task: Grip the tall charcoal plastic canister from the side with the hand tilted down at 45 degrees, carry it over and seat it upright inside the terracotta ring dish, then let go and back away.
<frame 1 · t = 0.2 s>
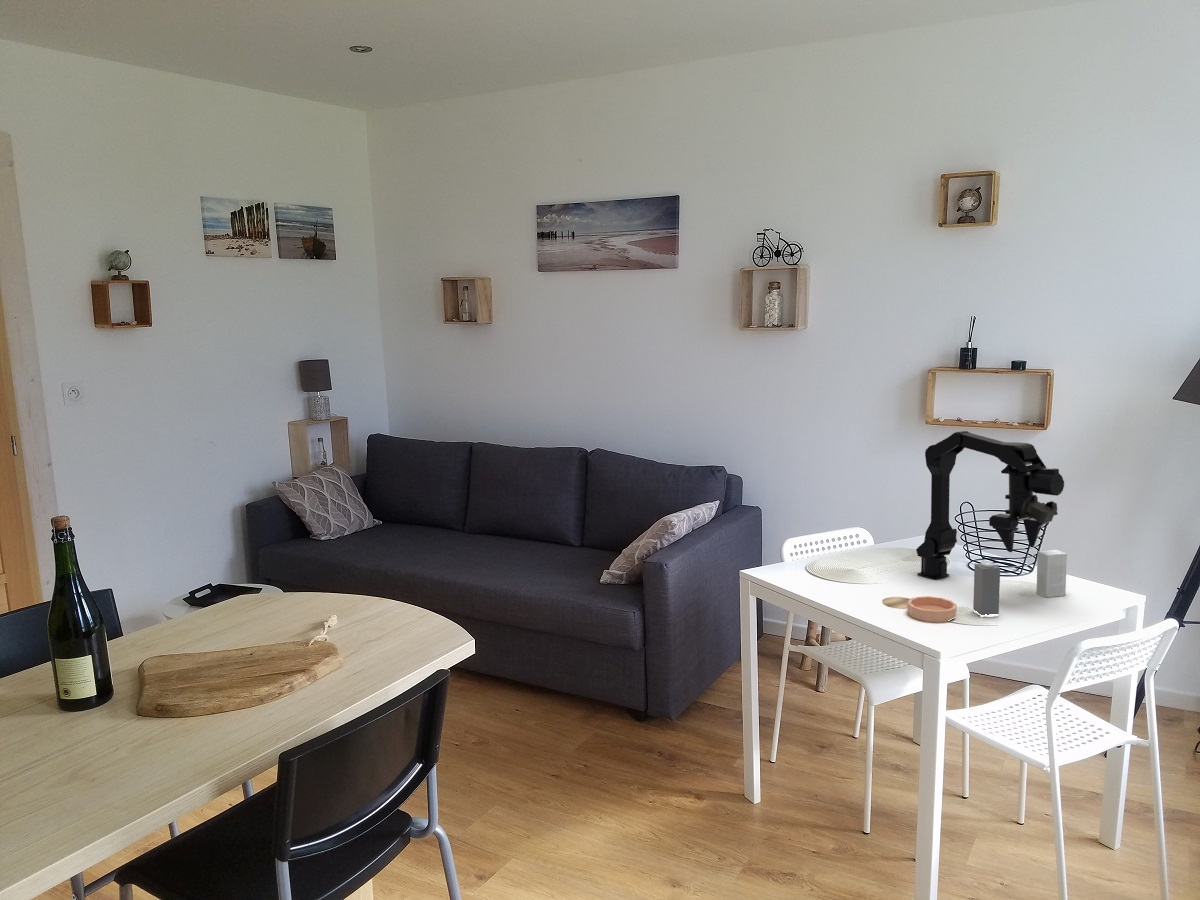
hand: (1021, 549, 228), 14 cm above the table, tool pointing down, fingers open, 9 cm apart
ring dish: (931, 614, 222), on the table
cork coaster: (899, 604, 232), on the table
skincare box: (1050, 595, 234), on the table
canister: (985, 614, 221), on the table
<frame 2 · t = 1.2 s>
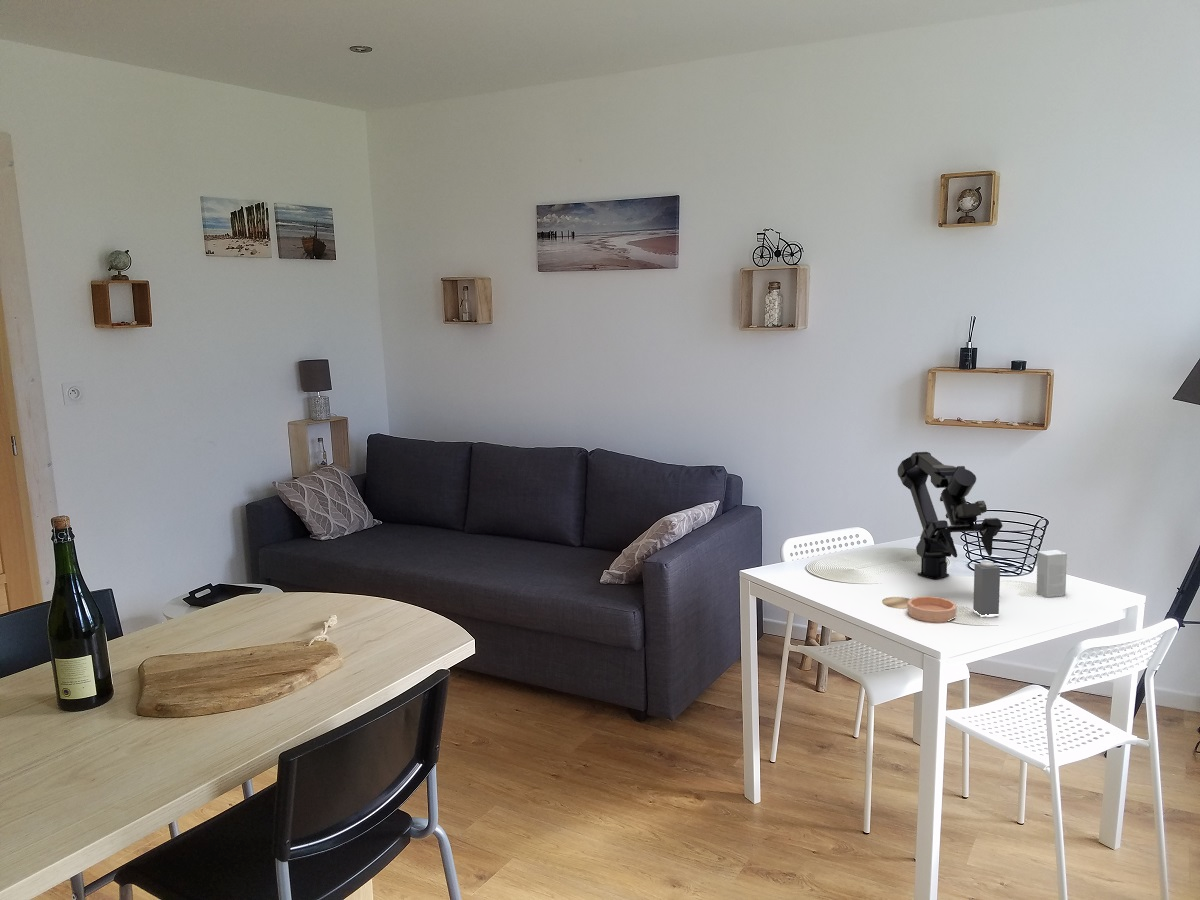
hand: (973, 556, 227), 13 cm above the table, tool tilted 45°, fingers open, 9 cm apart
nothing on the table moved.
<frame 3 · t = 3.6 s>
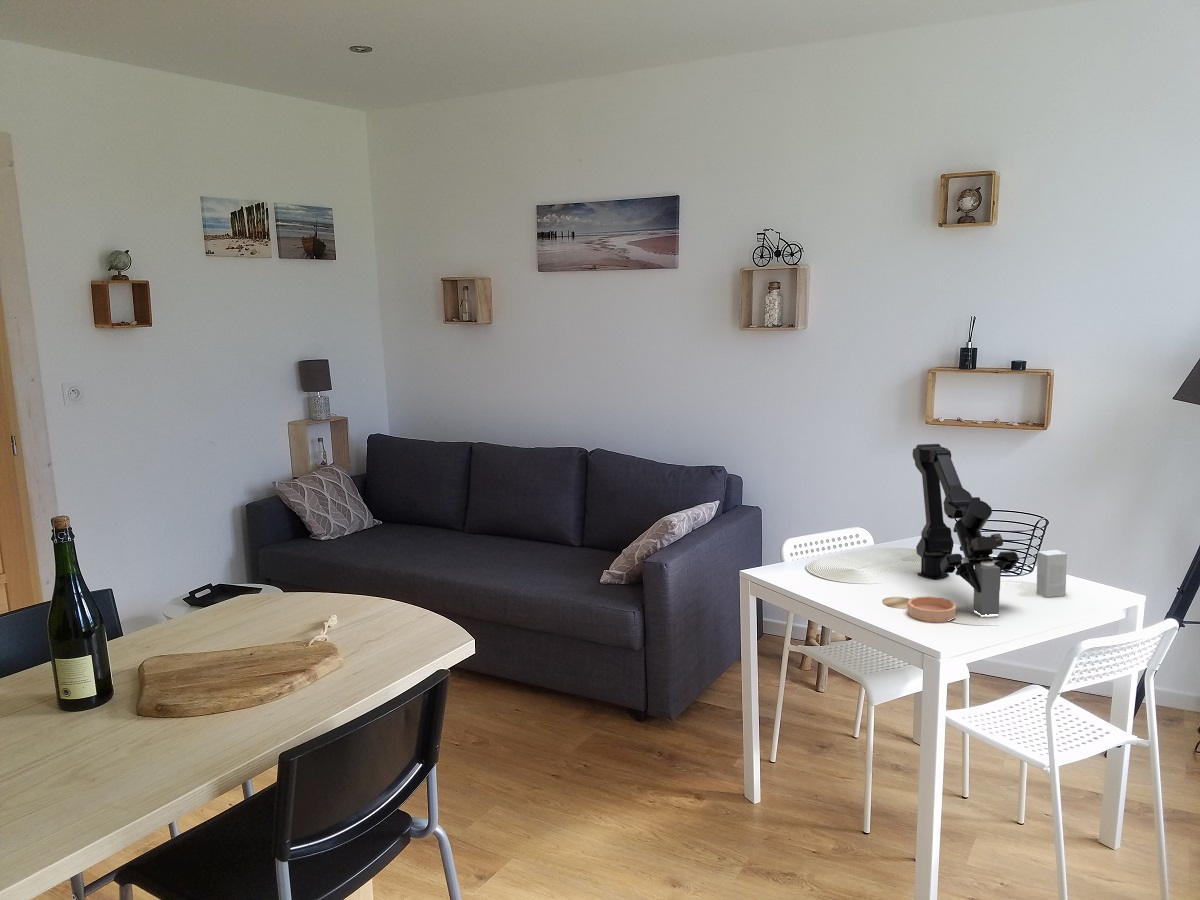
hand: (989, 591, 219), 7 cm above the table, tool tilted 45°, fingers closed on canister, 4 cm apart
canister: (985, 614, 221), on the table, touching gripper
everything else where it was.
when the fingers open (8 cm above the table, at t = 7.5 s): canister stays where it is, resting on ring dish.
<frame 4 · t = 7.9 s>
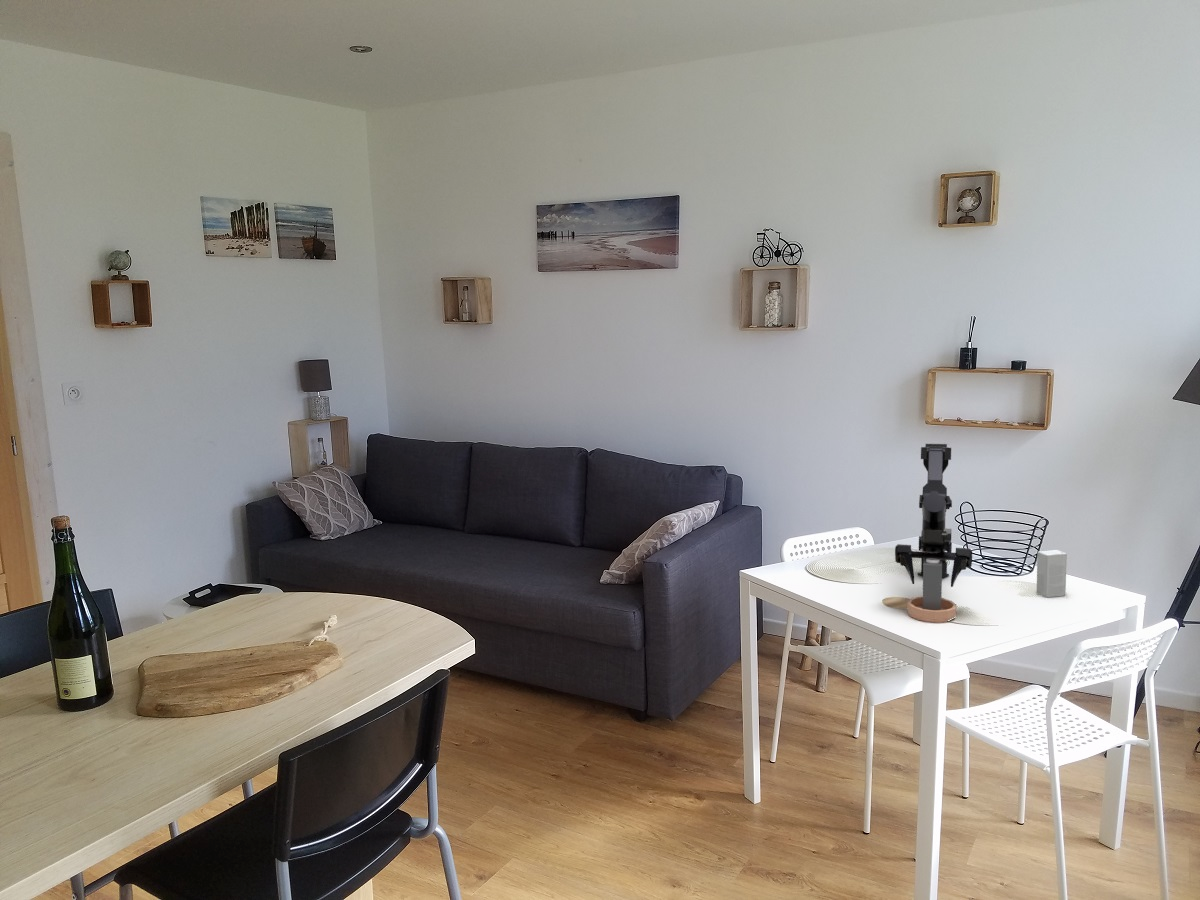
hand: (932, 584, 220), 9 cm above the table, tool tilted 45°, fingers open, 9 cm apart
canister: (931, 611, 222), point 1 cm above the table, touching ring dish
everything else where it was.
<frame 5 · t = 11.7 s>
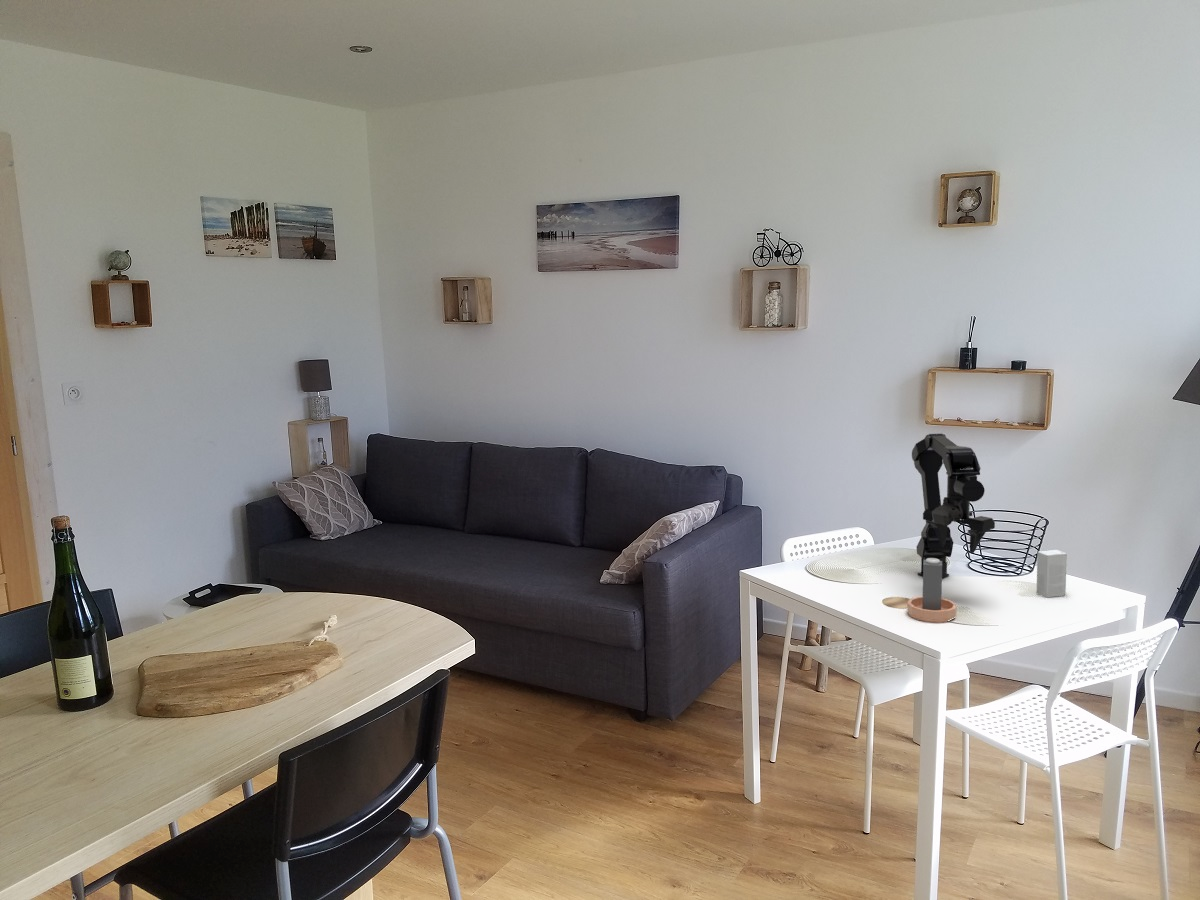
hand: (957, 549, 235), 13 cm above the table, tool pointing down, fingers open, 9 cm apart
nothing on the table moved.
at the end: canister 0.0 cm from the ring dish (horizontally); canister tilted 0°; the gripper is holding nothing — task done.
